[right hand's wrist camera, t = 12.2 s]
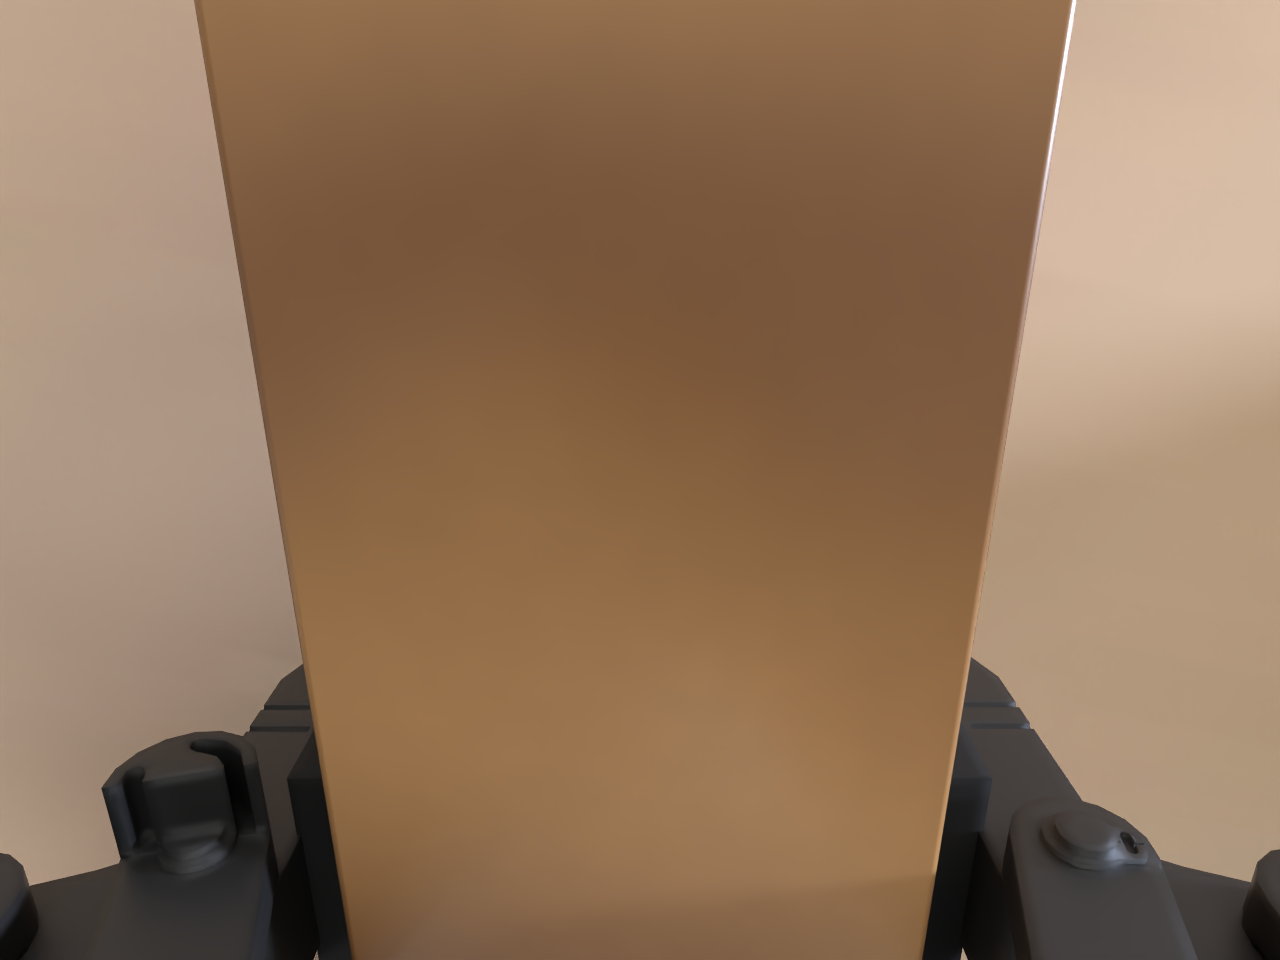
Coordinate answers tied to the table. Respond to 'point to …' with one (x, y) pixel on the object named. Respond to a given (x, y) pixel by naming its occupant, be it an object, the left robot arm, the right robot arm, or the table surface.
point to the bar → (636, 445)
